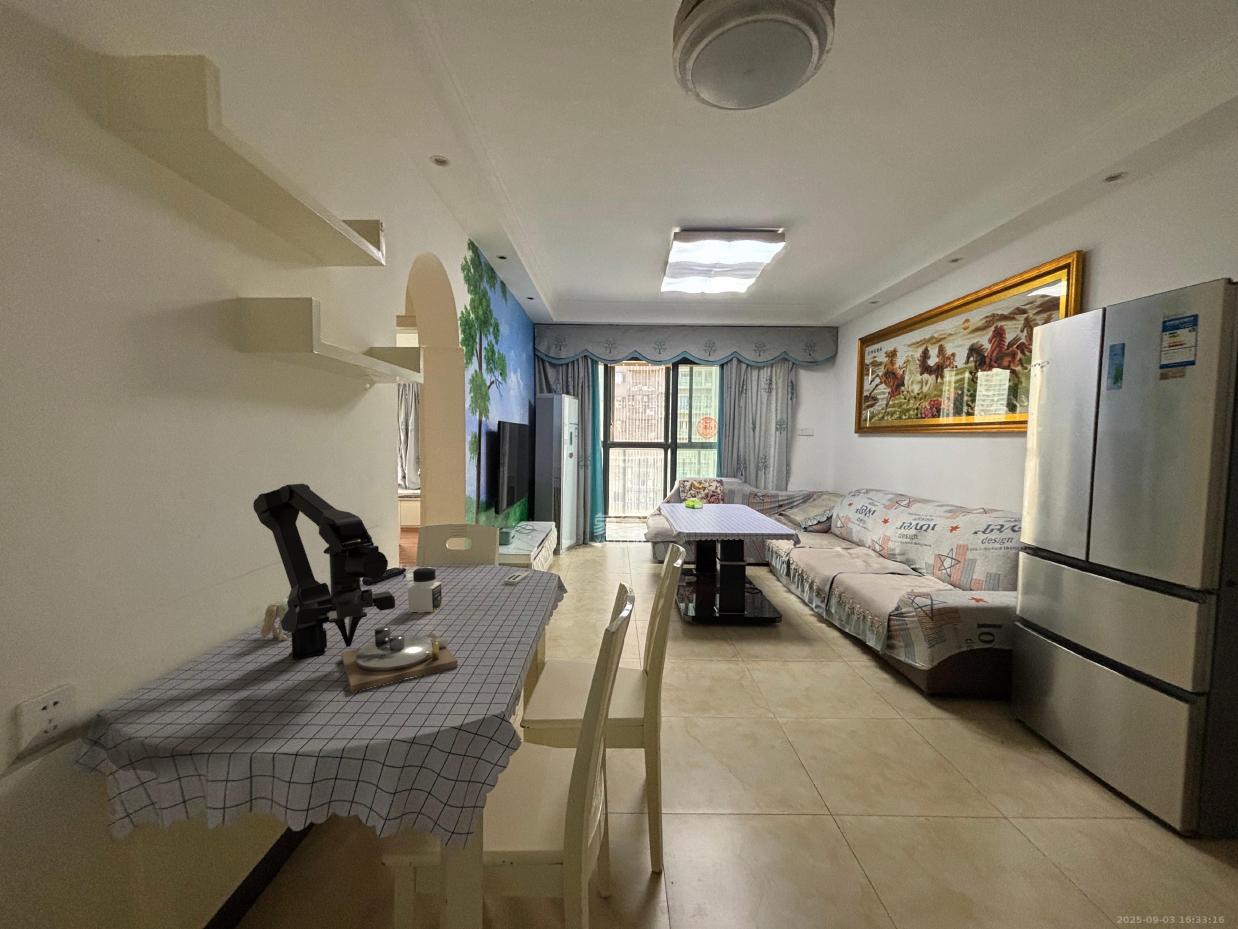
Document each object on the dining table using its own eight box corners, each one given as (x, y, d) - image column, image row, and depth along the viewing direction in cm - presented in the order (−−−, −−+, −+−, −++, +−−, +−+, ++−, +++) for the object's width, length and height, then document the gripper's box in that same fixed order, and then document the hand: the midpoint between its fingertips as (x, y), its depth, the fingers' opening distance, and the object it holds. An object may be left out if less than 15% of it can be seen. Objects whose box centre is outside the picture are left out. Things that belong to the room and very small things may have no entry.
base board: (351, 693, 100) (351, 685, 100) (341, 659, 117) (341, 652, 117) (457, 667, 111) (457, 660, 111) (434, 639, 127) (434, 633, 127)
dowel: (433, 660, 111) (432, 644, 110) (431, 658, 112) (431, 642, 112) (440, 659, 111) (439, 643, 111) (438, 657, 112) (437, 641, 112)
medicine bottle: (433, 613, 149) (431, 571, 148) (408, 613, 149) (406, 571, 148) (442, 605, 156) (440, 565, 155) (418, 606, 156) (416, 565, 156)
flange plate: (361, 678, 103) (360, 655, 102) (352, 652, 116) (351, 632, 116) (457, 655, 113) (456, 634, 112) (438, 634, 126) (437, 616, 126)
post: (391, 651, 111) (390, 641, 111) (388, 647, 114) (388, 637, 114) (406, 648, 113) (405, 638, 113) (403, 644, 116) (403, 634, 116)
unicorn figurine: (321, 619, 146) (319, 571, 145) (292, 644, 127) (290, 589, 126) (292, 621, 144) (290, 573, 144) (259, 648, 125) (256, 592, 125)
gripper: (295, 590, 102) (299, 669, 102) (398, 575, 112) (401, 647, 112) (294, 578, 111) (297, 651, 112) (389, 566, 121) (392, 633, 122)
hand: (348, 646), depth 114 cm, fingers closed
